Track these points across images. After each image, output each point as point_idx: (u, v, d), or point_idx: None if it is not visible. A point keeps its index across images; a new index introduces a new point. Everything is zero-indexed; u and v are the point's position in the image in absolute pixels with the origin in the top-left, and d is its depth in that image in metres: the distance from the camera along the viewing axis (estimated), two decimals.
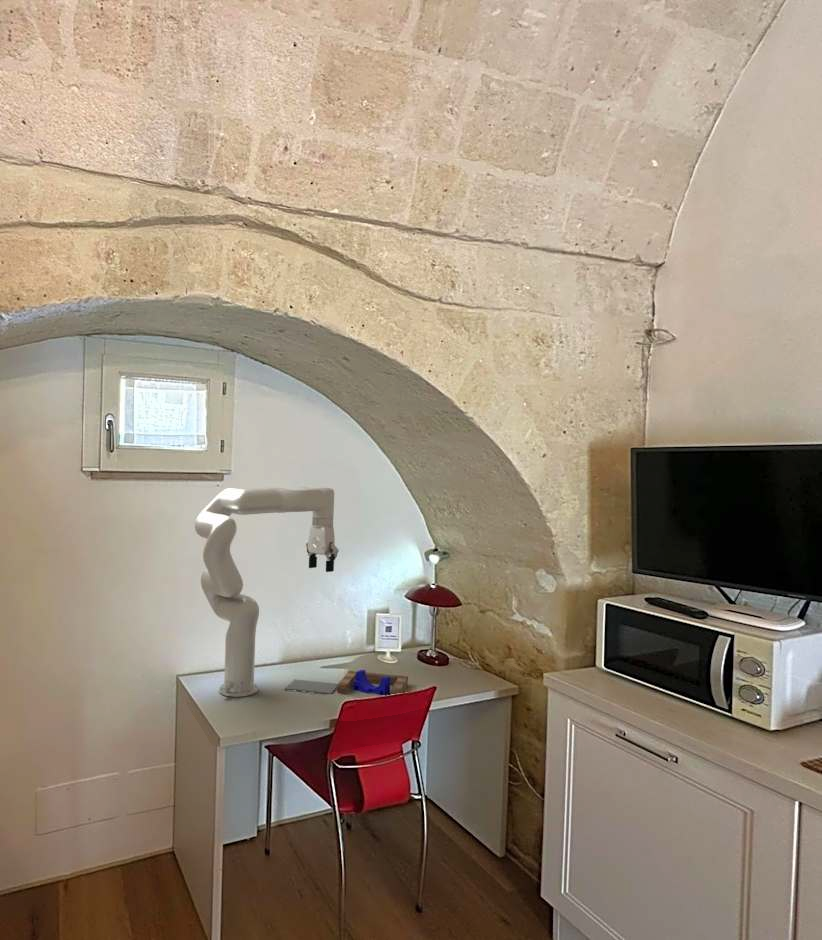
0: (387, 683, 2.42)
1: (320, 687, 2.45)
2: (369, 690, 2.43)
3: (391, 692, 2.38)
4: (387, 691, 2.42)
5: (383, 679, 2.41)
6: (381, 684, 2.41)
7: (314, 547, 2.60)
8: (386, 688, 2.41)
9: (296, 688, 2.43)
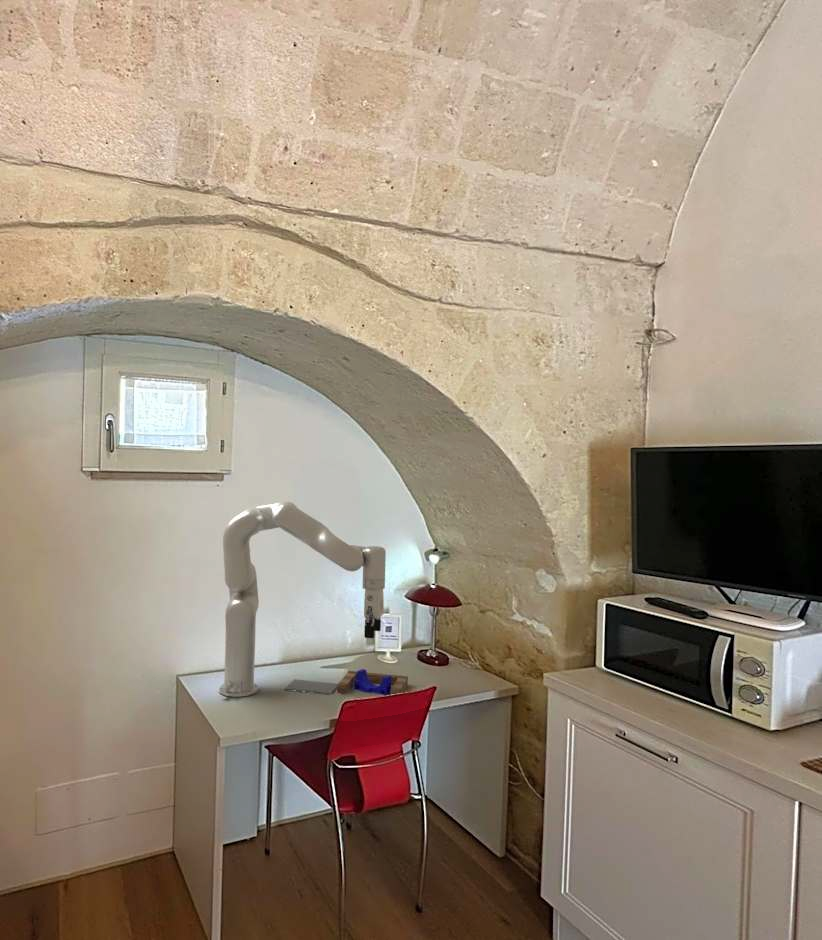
0: (388, 682, 2.42)
1: (320, 687, 2.45)
2: (370, 689, 2.44)
3: (391, 692, 2.38)
4: (388, 690, 2.43)
5: (384, 678, 2.42)
6: (382, 683, 2.42)
7: (381, 611, 2.43)
8: (387, 687, 2.42)
9: (296, 688, 2.43)
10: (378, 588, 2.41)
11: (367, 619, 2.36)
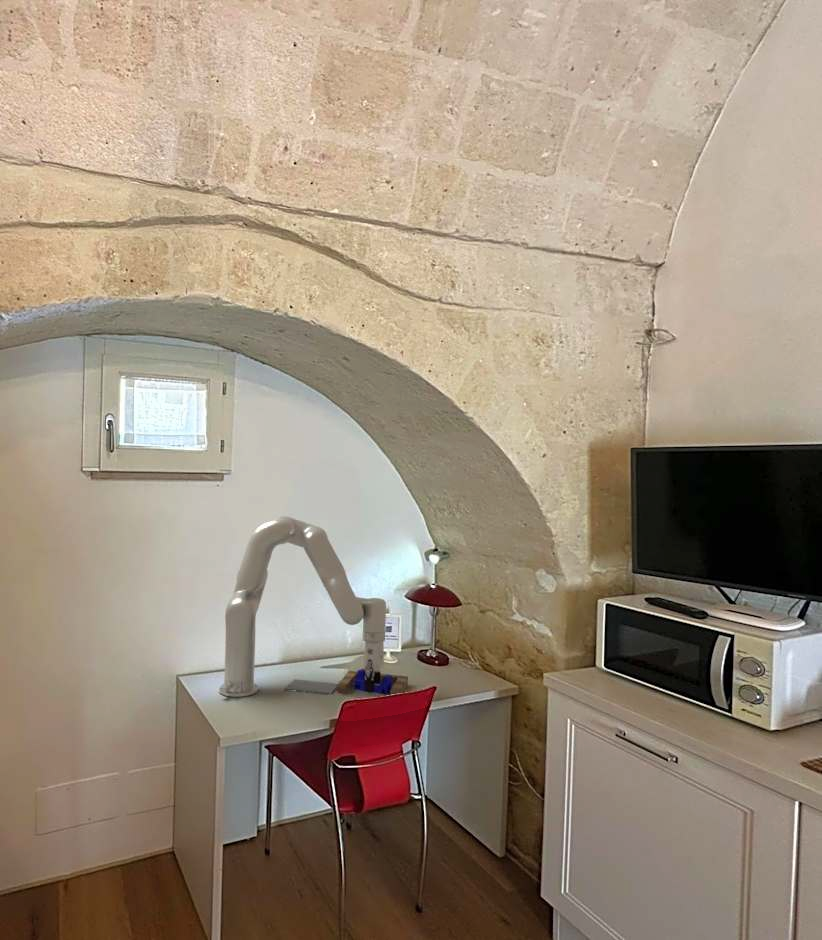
0: (389, 681, 2.43)
1: (320, 687, 2.45)
2: None
3: (391, 692, 2.38)
4: (389, 689, 2.43)
5: (385, 678, 2.42)
6: (383, 683, 2.42)
7: (381, 663, 2.43)
8: (388, 687, 2.42)
9: (296, 688, 2.43)
10: (378, 641, 2.41)
11: (367, 674, 2.37)
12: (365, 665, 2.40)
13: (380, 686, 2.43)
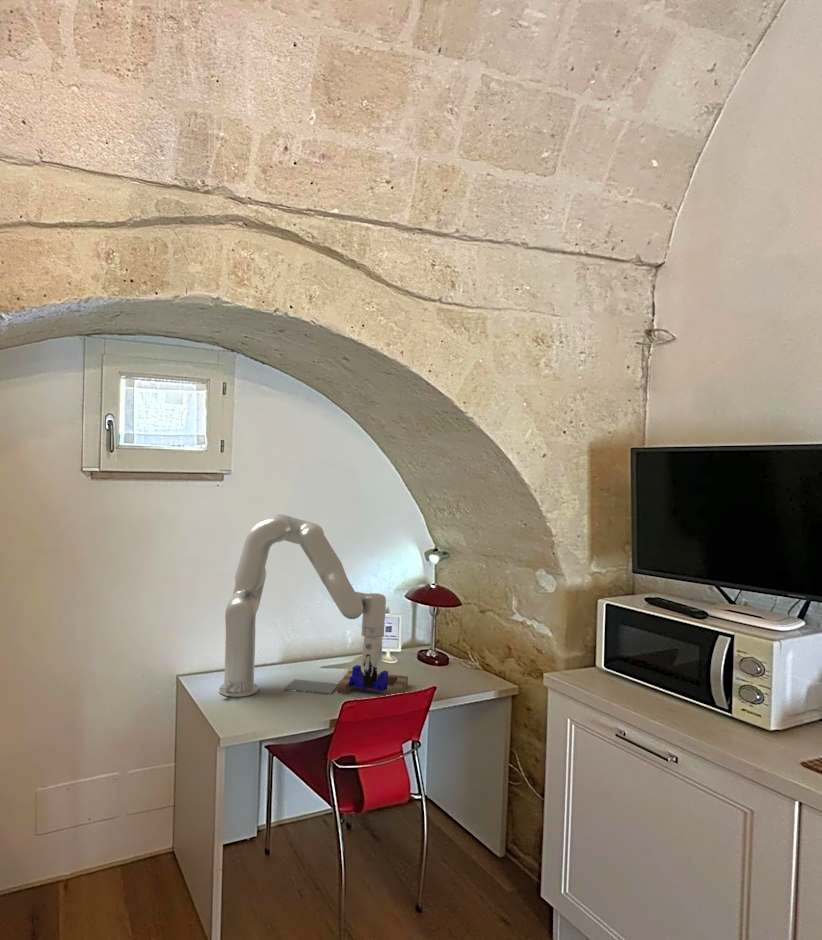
0: (385, 677, 2.42)
1: (320, 687, 2.45)
2: None
3: (391, 692, 2.38)
4: (385, 685, 2.42)
5: (382, 674, 2.41)
6: (379, 679, 2.41)
7: (379, 659, 2.43)
8: (384, 683, 2.42)
9: (296, 688, 2.43)
10: (377, 636, 2.41)
11: (366, 671, 2.38)
12: (363, 662, 2.40)
13: (376, 682, 2.42)
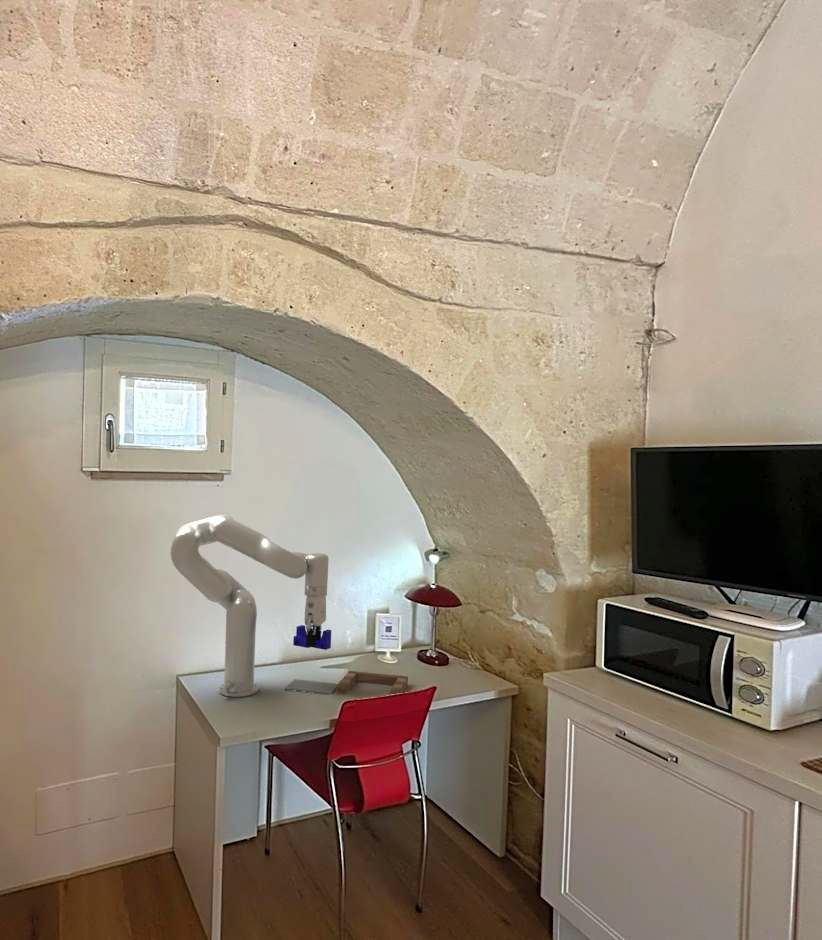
0: (328, 636, 2.43)
1: (320, 687, 2.45)
2: None
3: (391, 692, 2.38)
4: (328, 644, 2.44)
5: (324, 632, 2.42)
6: (322, 637, 2.43)
7: (322, 618, 2.44)
8: (327, 641, 2.43)
9: (296, 688, 2.43)
10: (319, 595, 2.42)
11: (308, 629, 2.39)
12: (306, 621, 2.41)
13: (319, 641, 2.43)
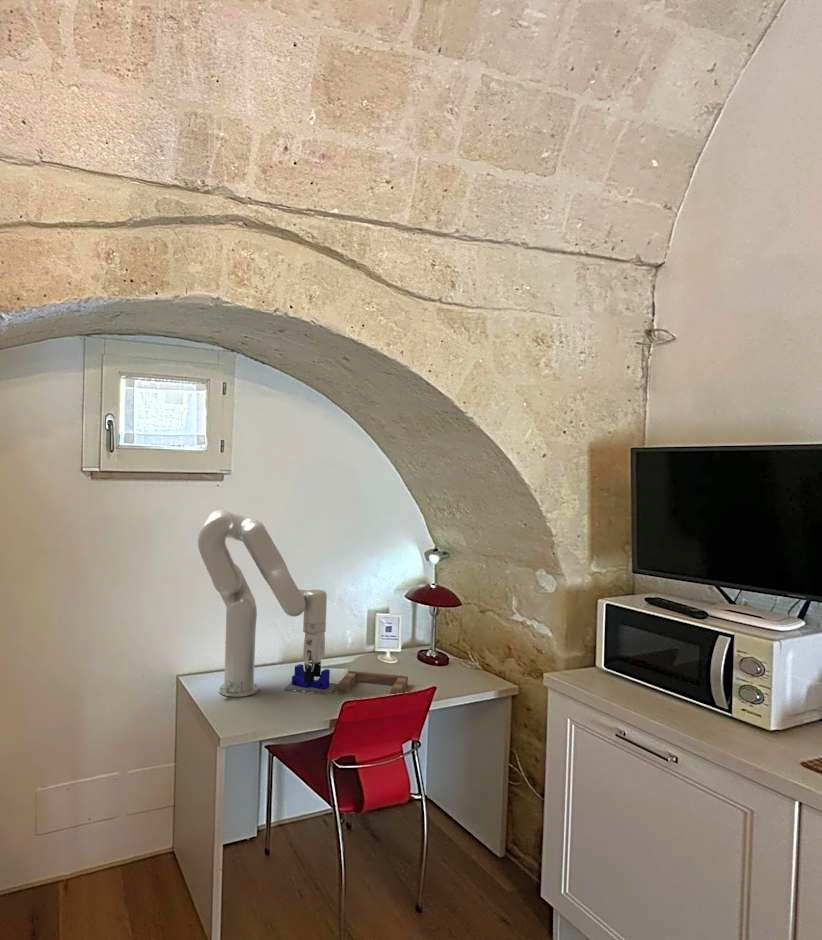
0: (327, 676, 2.44)
1: None
2: (308, 684, 2.45)
3: (391, 692, 2.38)
4: (327, 684, 2.44)
5: (323, 672, 2.43)
6: (321, 677, 2.43)
7: (321, 654, 2.44)
8: (326, 681, 2.43)
9: (296, 688, 2.43)
10: (318, 632, 2.42)
11: (306, 666, 2.39)
12: (304, 657, 2.41)
13: (318, 681, 2.44)
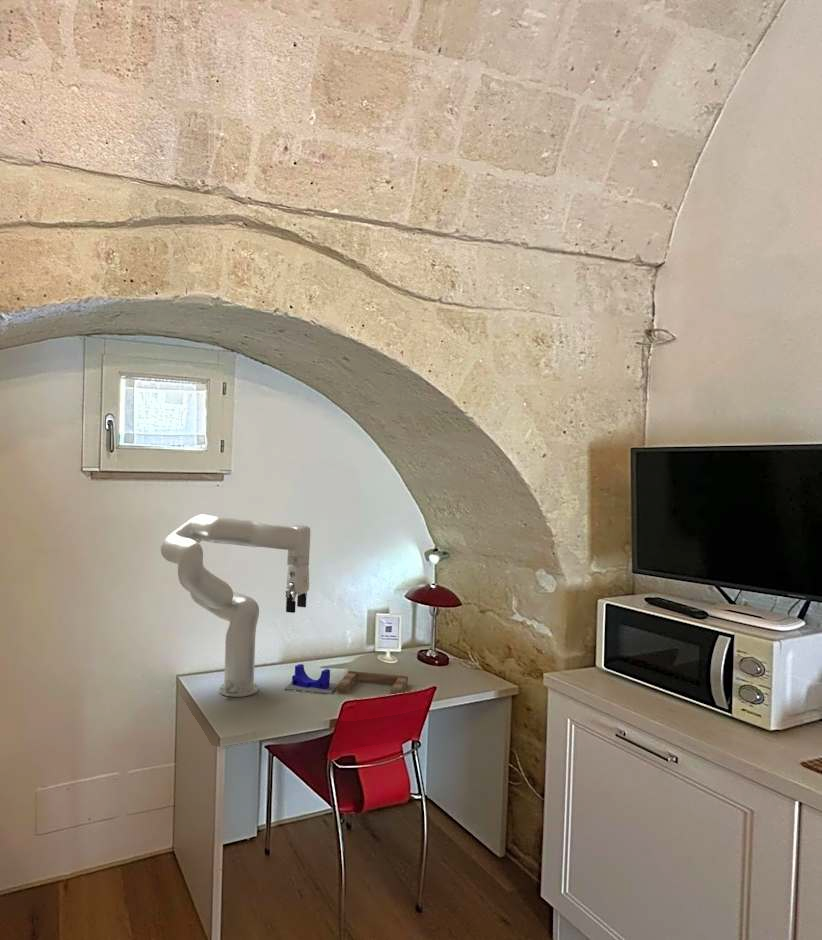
0: (327, 676, 2.44)
1: None
2: (308, 684, 2.45)
3: (391, 692, 2.38)
4: (327, 684, 2.44)
5: (323, 672, 2.43)
6: (321, 677, 2.43)
7: (304, 587, 2.53)
8: (326, 681, 2.43)
9: (296, 688, 2.43)
10: (301, 565, 2.51)
11: (287, 594, 2.47)
12: (287, 586, 2.50)
13: (318, 681, 2.44)
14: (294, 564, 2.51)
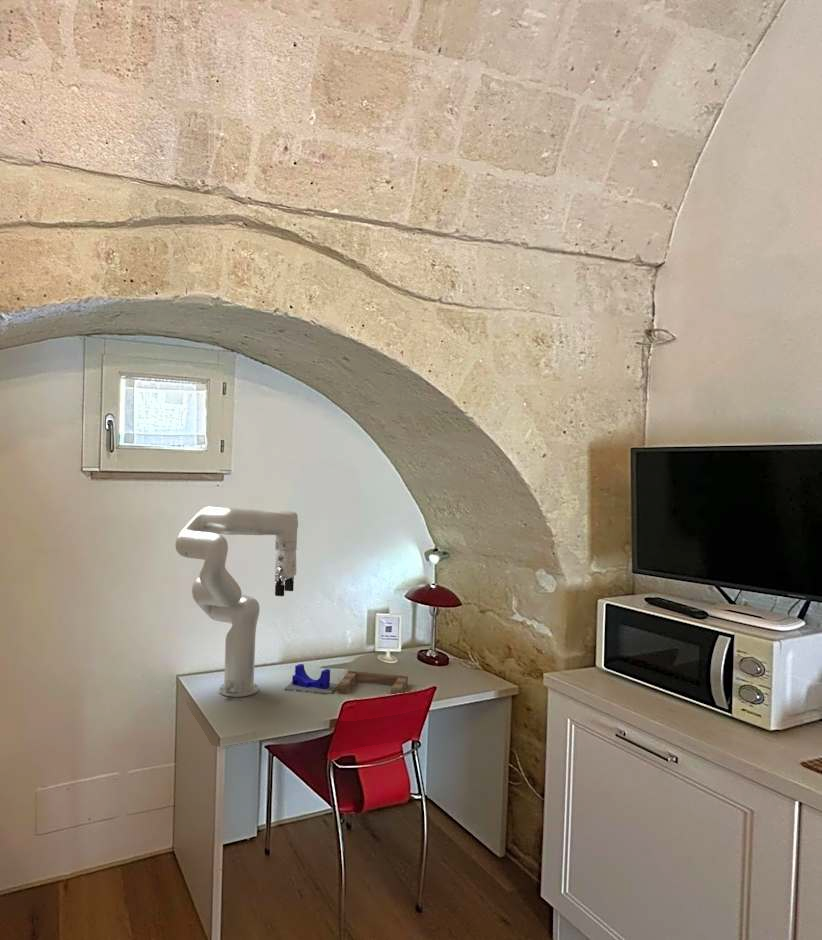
0: (327, 676, 2.44)
1: None
2: (309, 684, 2.45)
3: (391, 692, 2.38)
4: (327, 683, 2.44)
5: (323, 672, 2.43)
6: (321, 677, 2.43)
7: (292, 571, 2.60)
8: (326, 681, 2.44)
9: (296, 688, 2.43)
10: (289, 550, 2.58)
11: (277, 578, 2.53)
12: (276, 571, 2.57)
13: (318, 681, 2.44)
14: (282, 549, 2.57)
